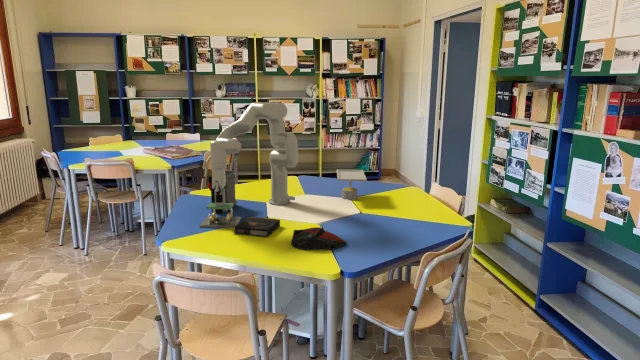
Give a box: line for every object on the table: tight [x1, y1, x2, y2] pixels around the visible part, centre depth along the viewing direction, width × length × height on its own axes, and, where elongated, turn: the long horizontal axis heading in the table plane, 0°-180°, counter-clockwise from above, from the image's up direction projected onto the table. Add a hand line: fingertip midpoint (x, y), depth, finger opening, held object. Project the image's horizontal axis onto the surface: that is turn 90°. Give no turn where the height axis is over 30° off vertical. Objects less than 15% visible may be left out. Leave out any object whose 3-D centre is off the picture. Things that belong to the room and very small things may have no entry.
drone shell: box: [290, 226, 348, 251], centre depth 192 cm, size 21×20×8 cm
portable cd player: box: [233, 216, 281, 238], centre depth 210 cm, size 16×17×4 cm
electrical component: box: [207, 170, 238, 214], centre depth 242 cm, size 18×10×20 cm, turn 168°
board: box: [206, 189, 235, 210], centre depth 217 cm, size 12×7×9 cm, turn 90°
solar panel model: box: [336, 169, 368, 201], centre depth 269 cm, size 28×17×15 cm, turn 179°
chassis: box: [199, 208, 242, 229], centre depth 219 cm, size 18×14×6 cm
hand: (220, 200), depth 217 cm, fingers closed on board, 3 cm apart
